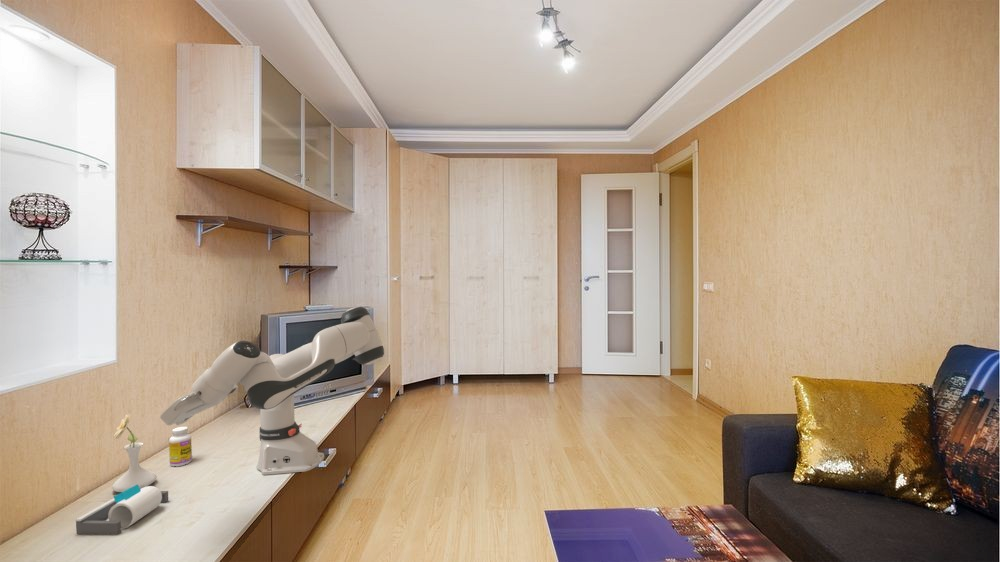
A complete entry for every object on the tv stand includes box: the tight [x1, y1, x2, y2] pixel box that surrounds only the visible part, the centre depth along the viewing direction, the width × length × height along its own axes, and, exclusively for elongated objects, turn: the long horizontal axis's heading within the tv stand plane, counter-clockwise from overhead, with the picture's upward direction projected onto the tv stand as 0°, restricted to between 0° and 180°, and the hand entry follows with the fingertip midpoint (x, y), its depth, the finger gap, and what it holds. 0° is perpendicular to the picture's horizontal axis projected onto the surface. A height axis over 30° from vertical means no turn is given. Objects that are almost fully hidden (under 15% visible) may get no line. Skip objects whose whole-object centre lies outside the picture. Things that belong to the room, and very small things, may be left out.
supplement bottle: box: [168, 426, 193, 467], centre depth 163 cm, size 7×7×13 cm
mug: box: [105, 484, 162, 529], centre depth 128 cm, size 12×9×12 cm
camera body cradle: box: [75, 490, 169, 535], centre depth 128 cm, size 12×17×4 cm, turn 177°
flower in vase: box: [111, 413, 158, 493], centre depth 145 cm, size 13×11×25 cm
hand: (179, 422), depth 127 cm, fingers closed
